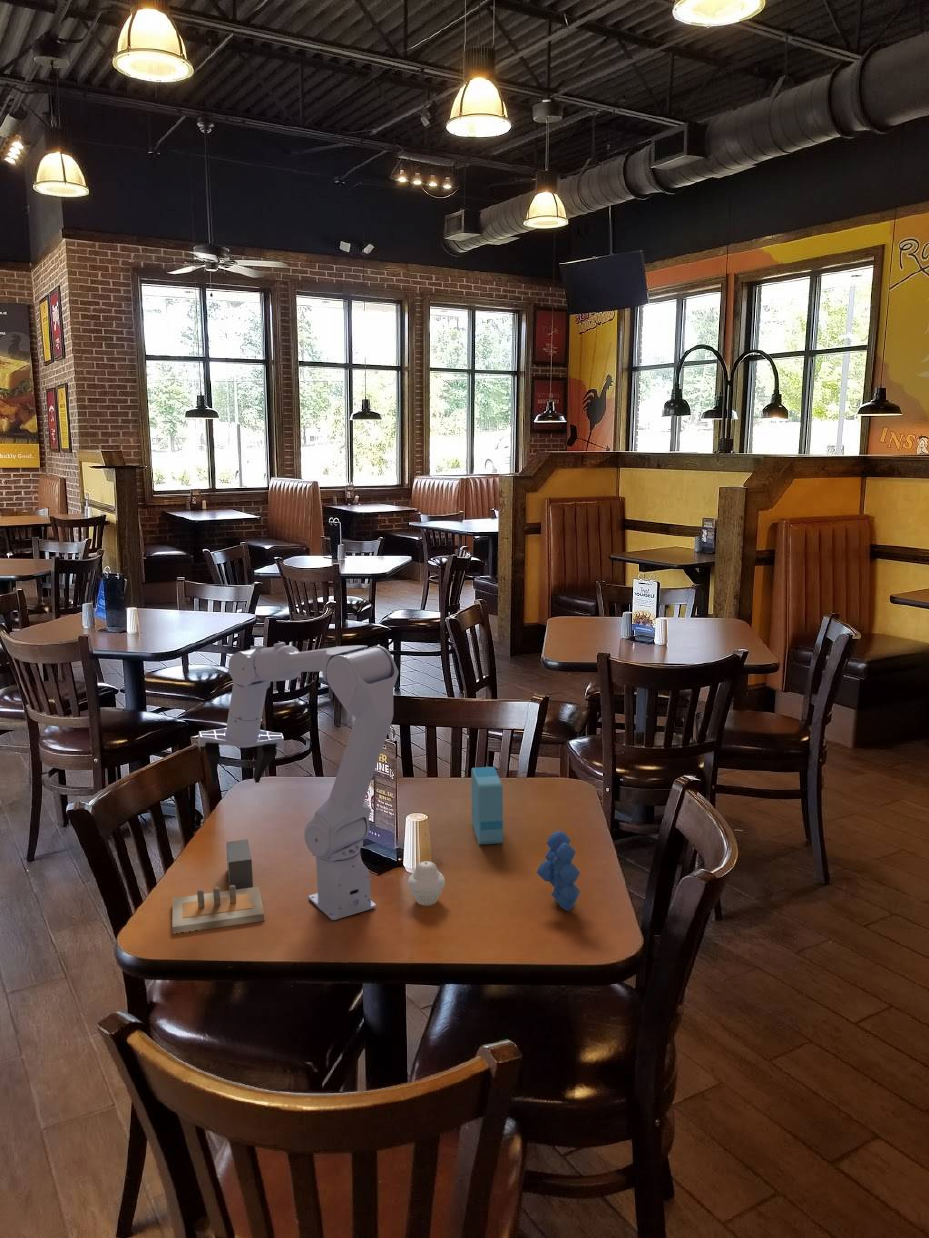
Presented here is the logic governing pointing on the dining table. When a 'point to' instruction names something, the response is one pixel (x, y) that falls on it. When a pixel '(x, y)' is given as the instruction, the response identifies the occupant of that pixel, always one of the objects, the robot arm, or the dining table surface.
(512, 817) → the dining table surface
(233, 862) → the block
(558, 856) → the grapes
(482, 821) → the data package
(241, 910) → the board
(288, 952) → the dining table surface
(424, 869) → the muffin
